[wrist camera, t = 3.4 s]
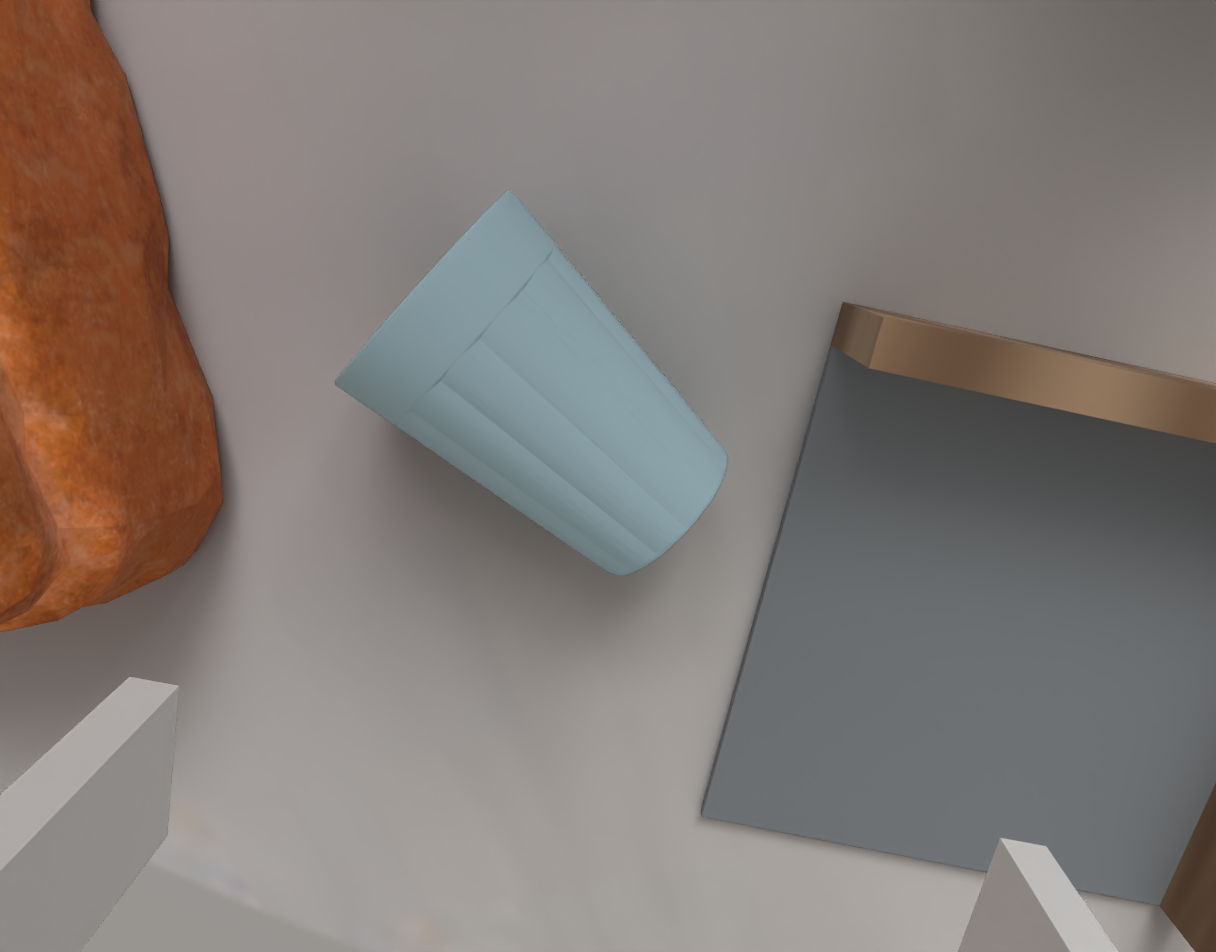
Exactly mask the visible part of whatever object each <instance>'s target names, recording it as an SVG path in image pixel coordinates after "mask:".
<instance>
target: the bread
mask: <svg viewBox="0 0 1216 952" xmlns="http://www.w3.org/2000/svg"><path fill="white" fill-rule="evenodd" d="M168 242H169V237H168V232H167V228H166V223H165V219H164V214H163V210H162V205H161V201H160V196H159V193H158V189H157V186H156V182H155V179H154V175H153V171H152V168H151V164H150V161H149V157H148V154H147V150H146V146H145V143H144V139H143V136H142V132H141V129H140V125H139V122H138V118H137V114H136V111H135V107H134V104H133V100H132V97H131V93H130V90H129V86H128V82H127V79H126V75H125V74H124V72H123V70H122V68H121V66H120V64H119V62H118V61H117V59H116V57H115V55H114V53H113V51H112V49H111V48H110V46H109V44H108V42H107V40H106V38H105V36H104V35H103V33H102V31H101V29H100V27H99V25H98V23H97V22H96V20H95V18H94V16H93V14H92V12H91V5H90V0H0V632H2V631H8V630H14V629H19V628H24V627H28V626H33V625H38V624H42V623H47V622H52V621H57V620H59V619H61V618H63V617H64V616H66V615H68V614H70V613H72V612H74V611H76V610H78V609H79V608H81V607H86V606H91V605H97V604H102V603H107V602H109V601H111V600H113V599H115V598H117V597H120V596H122V595H124V594H126V593H128V592H130V591H133V590H135V589H137V588H139V587H141V586H143V585H145V584H148V583H150V582H152V581H154V580H156V579H158V578H161V577H163V576H165V575H167V574H169V573H171V572H172V571H174V570H175V569H177V568H179V567H180V566H182V565H184V564H185V563H186V561H187V560H188V559H189V558H190V557H191V556H192V555H193V554H194V552H195V551H196V550H197V548H198V546H199V544H200V543H201V541H202V539H203V537H204V536H205V534H206V532H207V530H208V528H209V527H210V525H211V523H212V521H213V520H214V518H215V516H216V514H217V513H218V511H219V509H220V507H221V506H222V504H223V499H222V480H221V471H220V462H219V453H218V444H217V435H216V426H215V418H214V409H213V400H212V395H211V393H210V390H209V388H208V385H207V383H206V380H205V378H204V375H203V373H202V370H201V368H200V365H199V363H198V360H197V358H196V355H195V353H194V350H193V348H192V345H191V343H190V340H189V338H188V335H187V333H186V330H185V328H184V325H183V323H182V320H181V318H180V315H179V313H178V310H177V308H176V305H175V303H174V300H173V298H172V295H171V293H170V290H169V288H168Z"/></svg>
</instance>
